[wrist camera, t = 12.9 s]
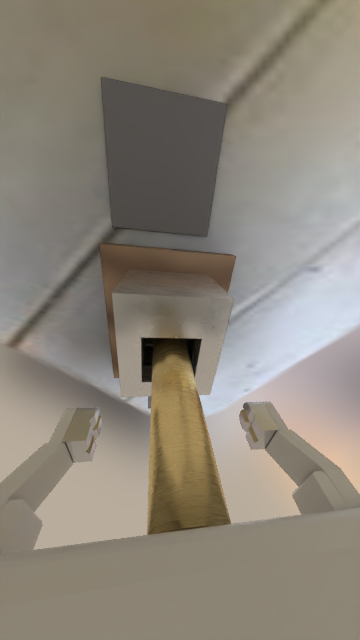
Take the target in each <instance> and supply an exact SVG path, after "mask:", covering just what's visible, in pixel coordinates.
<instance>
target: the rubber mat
mask: <svg viewBox="0 0 360 640" xmlns="http://www.w3.org/2000/svg"><path fill="white" fill-rule="evenodd" d="M101 85H102V98H103V111H104V125H105V138H106V151H107V164H108V178H109V191H110V204H111V217H112V227H121V228H131V229H141V230H150V231H160V232H169V233H179V234H189V235H198V236H207V234H208V228H209V221H210V215H211V208H212V201H213V195H214V188H215V182H216V175H217V168H218V162H219V155H220V149H221V142H222V135H223V129H224V122H225V115H226V109H227V104H225V103H221V102H216V101H212V100H207V99H202V98H198V97H193V96H188V95H184V94H179V93H174V92H170V91H165V90H161V89H156V88H151V87H147V86H142V85H137V84H133V83H128V82H123V81H119V80H114V79H109V78H105V77H101Z"/></svg>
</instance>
